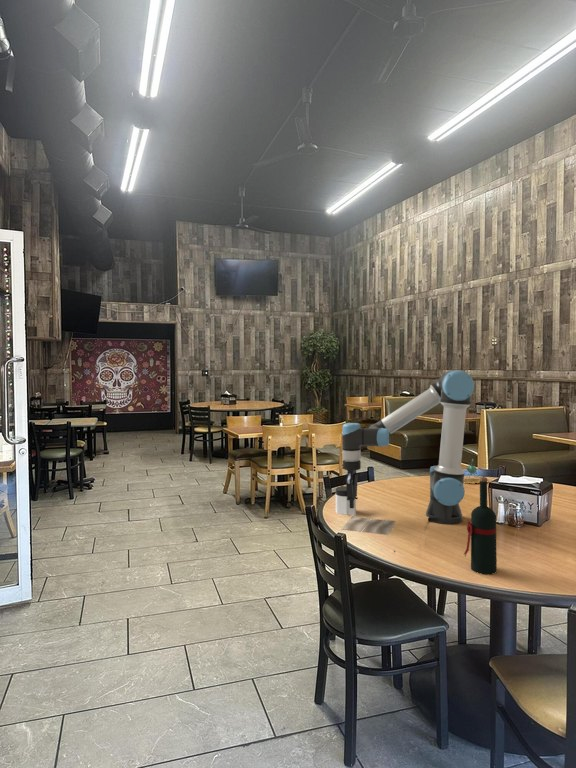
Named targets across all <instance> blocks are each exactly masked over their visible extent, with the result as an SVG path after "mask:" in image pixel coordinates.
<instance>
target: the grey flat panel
mask: <svg viewBox="0 0 576 768" xmlns="http://www.w3.org/2000/svg"><path fill="white" fill-rule="evenodd" d="M396 522H397V521H396V520H388V519H378V518H370V520H369V522H368V523H367V524H366V526H365V527H364V528H363V530H362V531H361V532H362V533H368V534H369V533H370V534H375V535H376V534H377V535H378V534H379V535H384V536H385V535H387V536H389V534H390V532H391V531H392V529H393V527H394V525H395V523H396Z"/></svg>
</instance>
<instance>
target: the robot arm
mask: <svg viewBox="0 0 576 768" xmlns="http://www.w3.org/2000/svg"><path fill="white" fill-rule="evenodd" d="M429 385H430V386H429V388H428V389H426V390H425V391H423V392H422V393H420V394H418V395H417V396H415V397H414V398H413V399H411V400H409V401H407V402H406V403H405V404H403V405H402V406H400V407H398V408H397V409H396V410H394V411H393V412H391V413H389V414H388V415H386V416H384V417H383V418H381V419H380V420H379V421H377V422H376V423H373V424H371V425H370V426H369V427H368V428H367V427H364V428H363V427H361V424H360V423H359V422H347V423H344V424H343V425H342V430H341V431H342V433H341V439H342V441H341V442H342V451H341V454H342V469H343V470H345V471H347V472H346V474H345V475H346V476H345V480H344V481H345V484H346V485H345V486H346V488H347V500H349V514H348V516H351V517H352V516H355V517H356V516H357V502H356V501H357V500H358V476H359V474H358V473H357V471H360V469H361V467H362V462H361V458H362V457H361V456H362V455H361V454H362V453H361V447H379V448H380V447H388V446H390V435H391V434H393V433H395V432H396V431H398V430H400V429H401V428H403V427H404V426H405V425H407V424H409V423H410V422H412V421H413V420H415V419H417V418H419V417H420V416H421V415H423V414H424V413H426V412H428V411H430V410H431V409H433V408H435V407H436V406H437V405H439V404H440V405H441V406H442V407H443V411H442V412H443V415H442V423H441V437H440V446H439V457H438V464H437V465H433V466H430V468H429V501H428V502H429V503H428V506H427V509H426V511H425V515H426V517H427V518H428V521H430V522H432V523H437V524H443V525H444V524H446V525H447V524H448V525H454V524H459V523H462V522H463V513H462V509H461V507H460V502H462V501H463V500H464V496H465V493H466V492H465V487H464V484H465V483H464V480H465V471H464V470H463V469H462V458H463V446H464V438H465V437H464V436H465V426H466V424H465V423H466V414H467V409H468V408H469V407H471V405H472V404H471V403H472V394H473V393H474V390H475V382H474V379H473V378H472V376H471V375H470V374H469V373H468V372H466V371H463V370H461V369H460V370H459V369H458V370H457V369H455V370H449V371H447V372H445V373H444V374H443V375H441V376H440V378H438V379H437V380H436V381H434V382H432V383H431V384H429Z"/></svg>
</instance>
